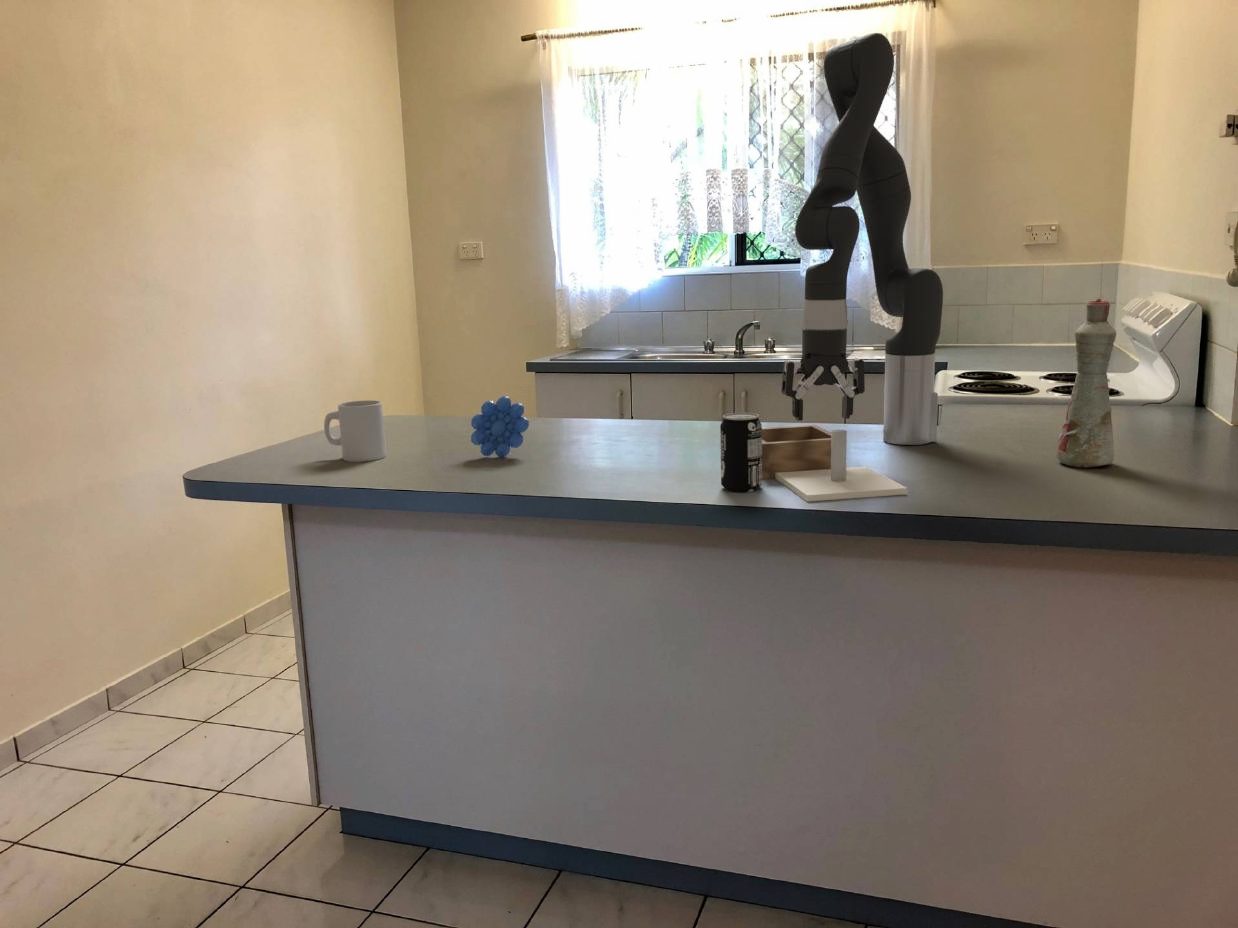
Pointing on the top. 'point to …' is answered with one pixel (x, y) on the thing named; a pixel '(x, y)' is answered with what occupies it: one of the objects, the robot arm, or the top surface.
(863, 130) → the robot arm
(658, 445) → the top surface
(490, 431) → the blue flower ornament
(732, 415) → the beverage can
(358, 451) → the mug
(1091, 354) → the bottle
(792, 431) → the collar
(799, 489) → the white square baseplate
